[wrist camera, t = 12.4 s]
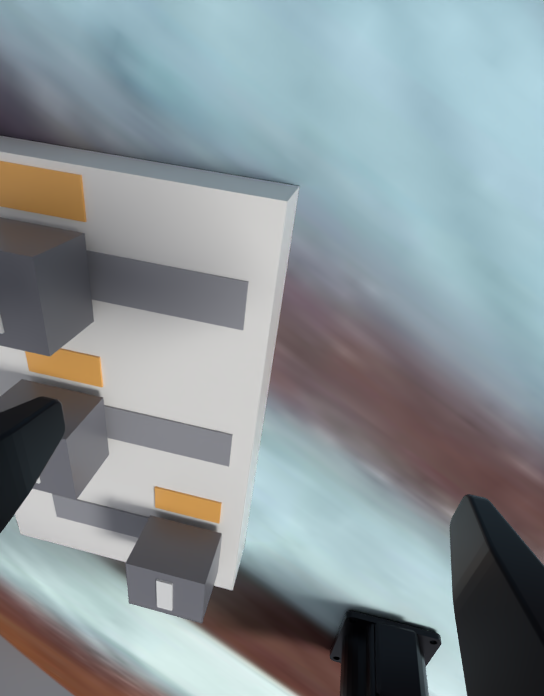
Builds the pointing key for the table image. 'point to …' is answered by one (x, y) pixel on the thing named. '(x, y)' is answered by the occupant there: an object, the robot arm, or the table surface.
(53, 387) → the switch middle
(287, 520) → the table surface
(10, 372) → the switch unit
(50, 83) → the table surface
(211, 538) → the switch
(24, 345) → the switch
